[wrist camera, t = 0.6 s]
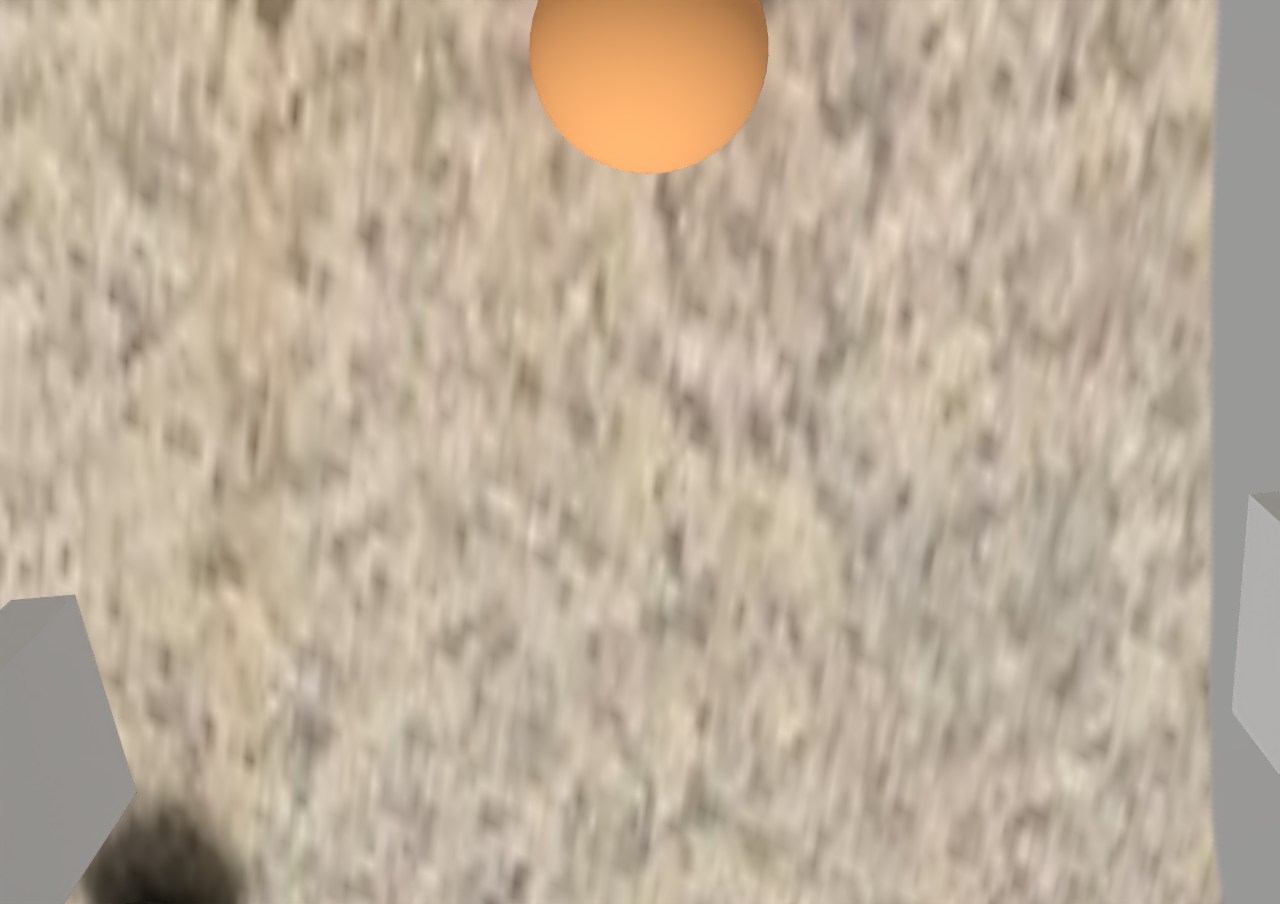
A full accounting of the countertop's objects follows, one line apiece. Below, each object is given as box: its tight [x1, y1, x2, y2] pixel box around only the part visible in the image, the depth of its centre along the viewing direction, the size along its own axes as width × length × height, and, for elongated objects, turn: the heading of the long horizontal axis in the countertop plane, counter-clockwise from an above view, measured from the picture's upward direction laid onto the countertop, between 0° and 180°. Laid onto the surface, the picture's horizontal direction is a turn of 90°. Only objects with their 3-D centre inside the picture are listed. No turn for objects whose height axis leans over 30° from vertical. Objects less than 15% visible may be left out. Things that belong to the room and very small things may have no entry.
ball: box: [530, 0, 768, 174], centre depth 31 cm, size 6×6×6 cm
